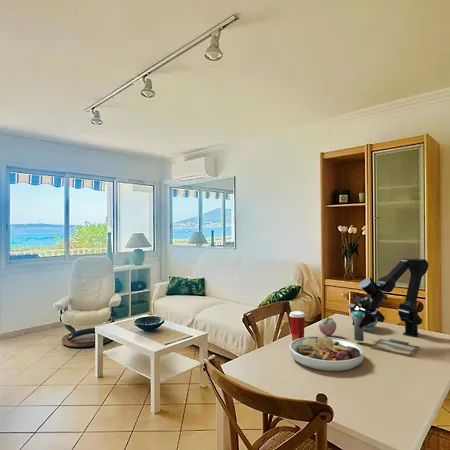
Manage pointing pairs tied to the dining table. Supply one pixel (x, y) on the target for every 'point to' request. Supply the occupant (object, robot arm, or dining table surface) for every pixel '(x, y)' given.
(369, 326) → the chinaware
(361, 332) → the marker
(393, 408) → the dining table surface
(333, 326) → the decorative fruit
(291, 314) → the paper cup
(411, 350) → the clipboard
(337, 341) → the bowl
